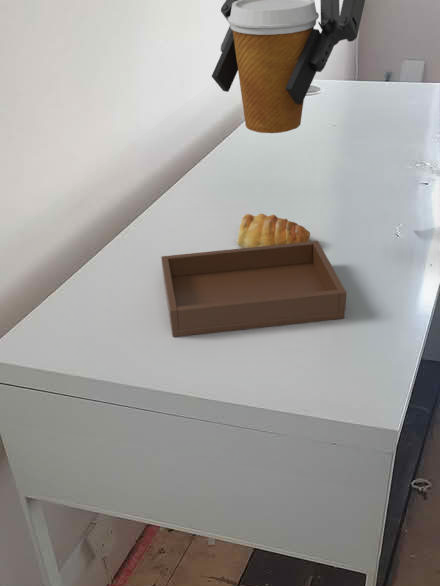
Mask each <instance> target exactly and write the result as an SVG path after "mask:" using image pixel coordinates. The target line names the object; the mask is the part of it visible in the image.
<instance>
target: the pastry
mask: <svg viewBox="0 0 440 586" xmlns="http://www.w3.org/2000/svg"><path fill="white" fill-rule="evenodd" d="M310 238H311V231H309V230H308V229H307V228H305V227H304V226H303V225H301V224H298V223H297V222H295V221H290V220H288V219H287V218H281V217H278V216H277V215H276V214H271V215H266V214H265V213H259V214H257V215H252V214H250V213H249V214H248V213H245V214H244V216H243V217H242V218H241V222H240V225H239V230H238V235H237V241H236V245H237V246H238V247H240V249H241V248H251V247H261V246H271V245H281V244H291V243H301V242H310Z"/></svg>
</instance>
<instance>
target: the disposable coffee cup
mask: <svg viewBox="0 0 440 586" xmlns="http://www.w3.org/2000/svg"><path fill="white" fill-rule="evenodd" d="M316 7H317V6H316V1H315V0H238V1H235V2H233V3H232V8H231V15H230V16H229V17H228V21H227V23H228V24H229V23H230V24H229V27H230V26H231V29H232V30H233V36H234V43H235V52H236V59H237V66H238V71H237V73H238V80H239V87H240V93H241V94H240V95H241V102H242V109H243V116H244V124H245V128H246V129H247V130H250V131H252V132H255V133H260V134H281V133H285V132H290V131H293V130H296V129H298V127H300V126H301V123H302V117H303V108H304V103H305V102H304V101H305V99H304V100H303V102H302V105H300V104H295V102H294V101H293V99H292V98H291V96H290V95H289V93H288V92H287V90H286V89H285V88H286V86H287V84H288V81H289V79H290V77H291V75H292V73H293V70H294V68H295V66H296V64H297V62H298V59H299V57H300V55H301V53H302V51H303V48H304V46H305V44H306V42H307V39H308V37H309V35H310V33H311V31H312V29H315V26H316V25H317V20H318V19H319V16H320V15H319V12H317V9H316Z"/></svg>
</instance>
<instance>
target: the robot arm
mask: <svg viewBox="0 0 440 586" xmlns="http://www.w3.org/2000/svg"><path fill="white" fill-rule="evenodd" d="M235 1H238V0H225V1H224V2H223V5H222V6H221V8H220V13H221V14H222V16H223V17H224V18H225V20H226V22H228V17H229V16H230V15H231V8H232V3H233V2H235ZM319 2H320V21H318V22H317V23H318V26H319V28H320V29H321V32H320V29H317V28H314V29H312V31H311V33H310V35H309V37H308V39H307V42H306V44H305V46H304V48H303V51H302V53H301V55H300V57H299V59H298V62H297V64H296V66H295V68H294V70H293V73H292V75H291V77H290V79H289V81H288V84H287V86H286V88H285V89H286V90H287V92H288V93H289V95H290V96H291V98H292V99H293V101H294V102H295V104H300V105H302V102H303V100H304V101H305V98H306V96H307V94H308V92H309V89H310V87H311V85H312V82H313V81H314V78H315V76H316V74H317V73H322V71H323V70H325V67H326V65H327V62H328V60H329V59H330V56H331V55H332V51H333V49H334V47H335V46H336V45H338V44H339V43H340V42H341V41H344V40H346V41H347V42H350V43H351V42H353V41H355V40H356V39H357V37H358V34H359V31H360V25H361V21H362V16H363V12H364V8H365V4H366V0H342V4H341V9H340V0H320V1H319ZM228 24H229V27H228V29H227V30H226V34H225V35H224V38H223V40H222V42H221V45H220V52H221V54H220V57H219V59H218V61H217V63H216V65H215V68H214V69H213V72H212V74H211V78H212V79H213V81H214V82H215V83H216V84H217V85H218V86H219V88H220V89H221V90H222V92H227V93H229V92H230V89H231V87H232V85H233V82H234V80H235V78H236V77H237V73H238V66H237V59H236V52H235V43H234V36H233V30H232V29H231V26H230V23H229V22H228ZM303 103H304V102H303Z"/></svg>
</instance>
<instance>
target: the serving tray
mask: <svg viewBox="0 0 440 586" xmlns="http://www.w3.org/2000/svg"><path fill="white" fill-rule="evenodd" d="M160 258H161V266H162V276H163V278H162V279H163V284H164V290H165V297H166V304H167V311H168V316H169V323H170V330H171V335H172V337H173V338H176V337H186V336H194V335H195V336H196V335H204V334H213V333H214V334H215V333H221V332H223V333H224V332H229V331H230V332H231V331H241V330H249V329H260V328H267V327H268V328H269V327H278V326H279V327H280V326H288V325H296V324H307V323H314V322H323V321H332V320H333V321H334V320H342V319H343V320H344V319H345V317H346V316H345V315H346V313H345V312H346V303H347V291H346V289H345V287H344V286H343V284H342V282H341V280H340V278H339V277H338V275H337V273H336V271H335V269H334V268H333V265H332V263H331V262H330V260H329V258H328V256H327V254H326V253H325V251H324V249H323V247H322V246H321V244H320V242H319V241H318V240H313V241H309V242H301V243H291V244H281V245H271V246H261V247H251V248H241V247H240V248H231V249H222V250H212V251H203V252H202V251H201V252H192V253H181V254H171V255H162V256H160Z"/></svg>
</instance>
